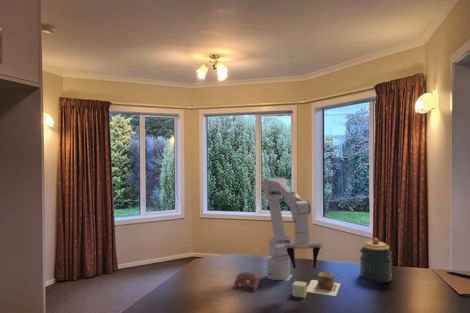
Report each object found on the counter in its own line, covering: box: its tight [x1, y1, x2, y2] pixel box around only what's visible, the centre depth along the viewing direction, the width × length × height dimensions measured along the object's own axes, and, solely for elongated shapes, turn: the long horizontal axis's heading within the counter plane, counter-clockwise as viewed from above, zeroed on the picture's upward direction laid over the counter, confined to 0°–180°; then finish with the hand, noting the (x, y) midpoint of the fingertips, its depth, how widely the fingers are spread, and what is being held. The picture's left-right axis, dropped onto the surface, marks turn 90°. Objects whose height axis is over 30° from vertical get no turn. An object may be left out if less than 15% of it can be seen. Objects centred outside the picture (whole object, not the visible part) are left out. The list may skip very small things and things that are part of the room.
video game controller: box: [233, 272, 260, 292], centre depth 153 cm, size 10×5×7 cm, turn 65°
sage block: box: [292, 280, 308, 299], centre depth 144 cm, size 4×4×5 cm
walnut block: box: [317, 271, 335, 290], centre depth 152 cm, size 6×6×5 cm
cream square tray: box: [307, 279, 341, 297], centre depth 151 cm, size 12×14×1 cm
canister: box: [359, 237, 393, 284], centre depth 163 cm, size 13×13×18 cm
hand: (304, 268), depth 144 cm, fingers open, 7 cm apart
